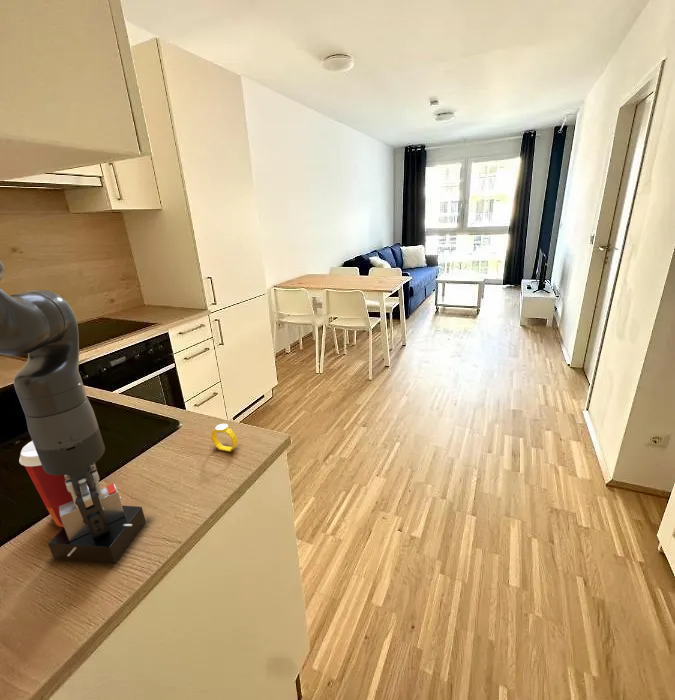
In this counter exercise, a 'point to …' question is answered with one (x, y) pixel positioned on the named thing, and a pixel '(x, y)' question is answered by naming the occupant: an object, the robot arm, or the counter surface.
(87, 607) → the counter surface
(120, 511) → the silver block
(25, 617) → the counter surface
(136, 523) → the black square block
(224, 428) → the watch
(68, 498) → the coffee cup
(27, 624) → the counter surface
